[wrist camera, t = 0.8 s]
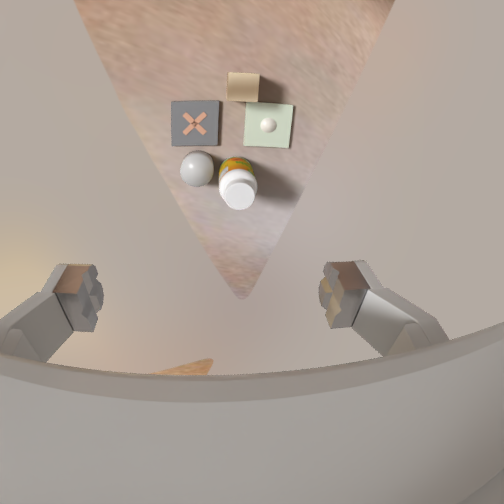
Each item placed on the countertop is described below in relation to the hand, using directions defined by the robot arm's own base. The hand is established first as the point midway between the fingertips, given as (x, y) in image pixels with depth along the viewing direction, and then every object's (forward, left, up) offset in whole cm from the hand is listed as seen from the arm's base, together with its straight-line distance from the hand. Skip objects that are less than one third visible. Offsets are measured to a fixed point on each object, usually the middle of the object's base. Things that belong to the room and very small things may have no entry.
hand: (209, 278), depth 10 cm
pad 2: (+2, +8, -36) cm, 37 cm away
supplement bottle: (+10, +3, -37) cm, 38 cm away
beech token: (-4, +3, -37) cm, 37 cm away
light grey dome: (+9, -3, -37) cm, 38 cm away
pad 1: (+2, -3, -36) cm, 37 cm away
